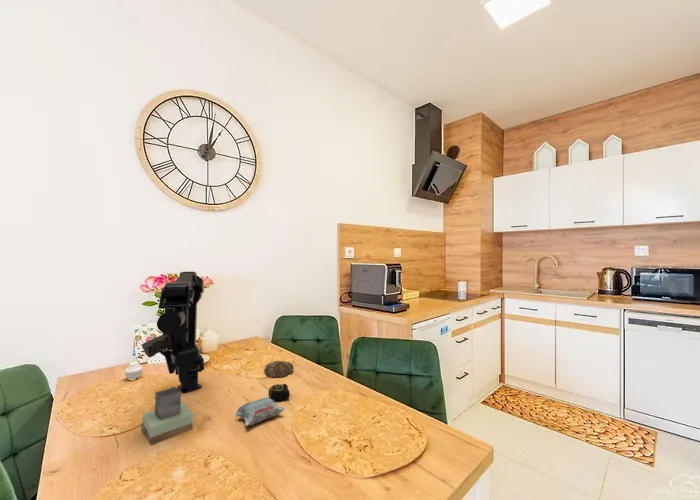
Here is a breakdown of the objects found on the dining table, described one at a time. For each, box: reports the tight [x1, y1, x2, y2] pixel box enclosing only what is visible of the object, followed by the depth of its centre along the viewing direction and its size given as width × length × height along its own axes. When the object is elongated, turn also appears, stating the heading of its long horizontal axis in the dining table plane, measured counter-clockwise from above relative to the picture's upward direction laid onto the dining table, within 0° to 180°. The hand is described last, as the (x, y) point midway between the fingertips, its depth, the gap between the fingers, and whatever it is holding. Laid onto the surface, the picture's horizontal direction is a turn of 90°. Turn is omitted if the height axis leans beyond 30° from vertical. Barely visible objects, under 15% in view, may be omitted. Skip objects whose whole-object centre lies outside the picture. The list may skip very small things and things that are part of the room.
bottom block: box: [140, 422, 194, 446], centre depth 83 cm, size 10×10×2 cm
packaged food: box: [235, 397, 285, 427], centre depth 89 cm, size 9×12×5 cm
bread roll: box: [263, 360, 295, 379], centre depth 126 cm, size 13×12×5 cm
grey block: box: [154, 386, 182, 420], centre depth 84 cm, size 5×5×6 cm
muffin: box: [123, 360, 144, 380], centre depth 119 cm, size 6×6×7 cm
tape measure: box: [268, 383, 291, 402], centre depth 102 cm, size 7×7×4 cm
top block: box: [142, 401, 194, 437], centre depth 84 cm, size 10×10×2 cm
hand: (176, 377), depth 88 cm, fingers open, 9 cm apart
